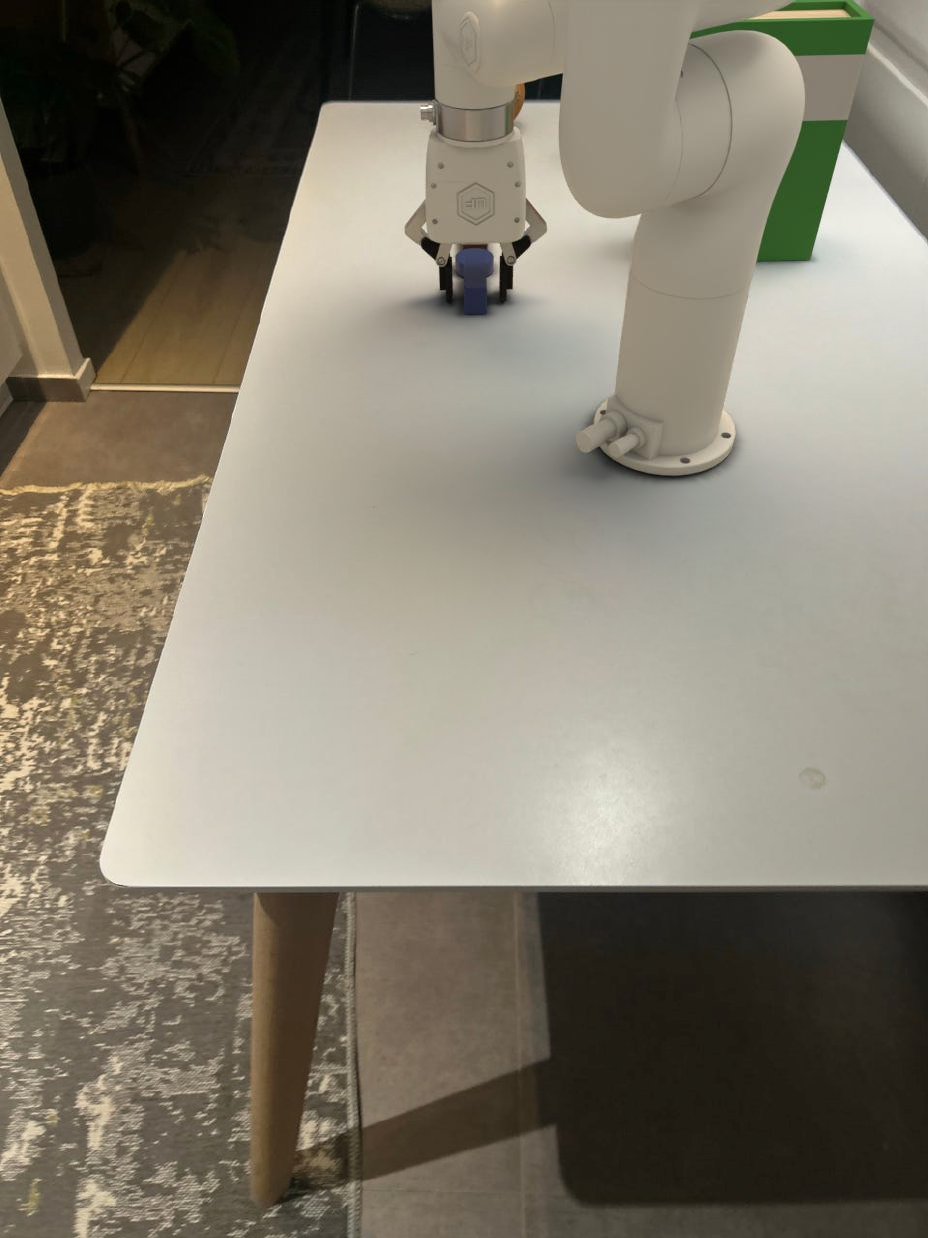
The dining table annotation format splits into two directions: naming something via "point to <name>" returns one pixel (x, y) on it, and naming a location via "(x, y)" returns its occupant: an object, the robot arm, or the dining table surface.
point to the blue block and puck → (474, 277)
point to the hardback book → (811, 111)
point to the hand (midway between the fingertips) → (476, 293)
